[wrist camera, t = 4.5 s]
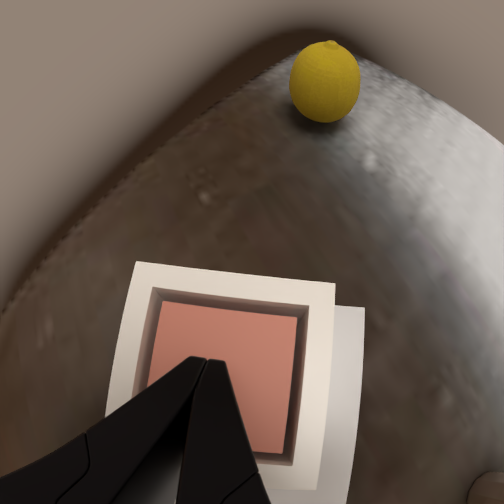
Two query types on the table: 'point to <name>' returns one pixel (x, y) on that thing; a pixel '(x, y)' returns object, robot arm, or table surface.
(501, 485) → the takeaway coffee cup
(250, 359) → the salmon pink square block
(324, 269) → the table surface
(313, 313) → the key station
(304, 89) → the lemon
